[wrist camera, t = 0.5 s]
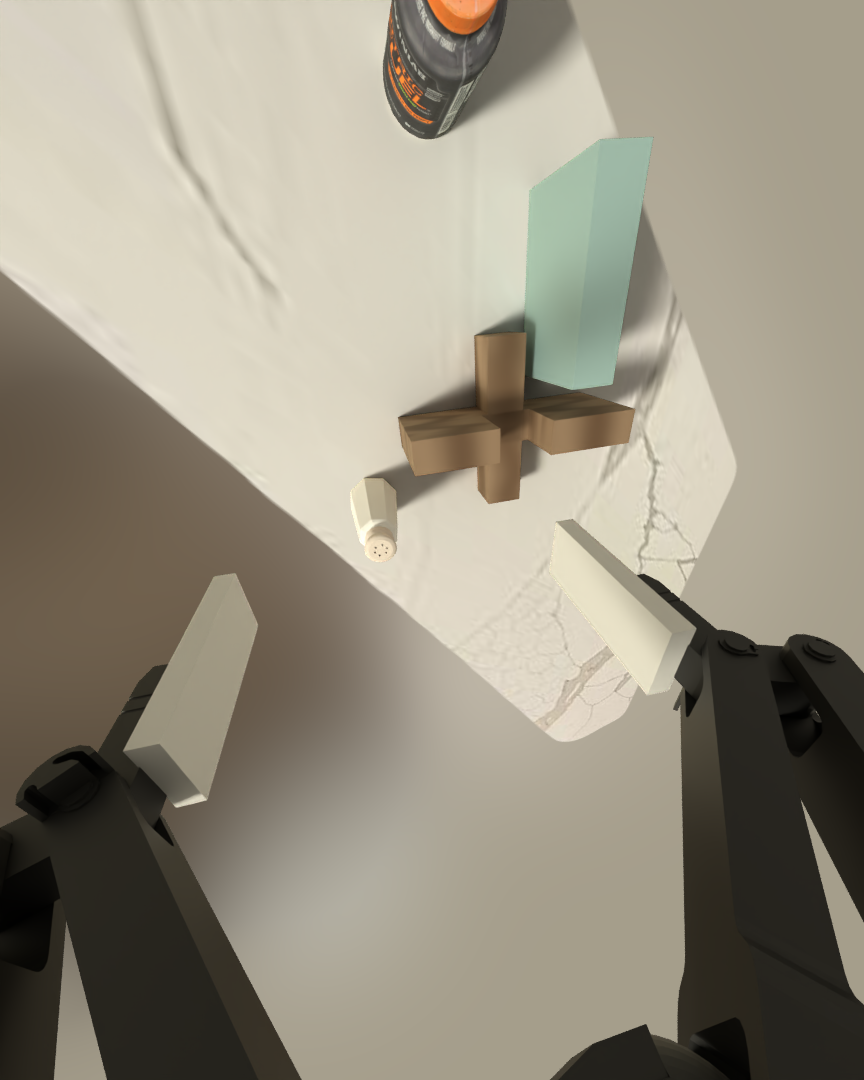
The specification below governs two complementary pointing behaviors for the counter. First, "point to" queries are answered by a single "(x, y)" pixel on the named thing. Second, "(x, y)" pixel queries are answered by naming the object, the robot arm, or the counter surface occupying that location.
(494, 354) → the walnut joint base
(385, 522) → the pepper shaker
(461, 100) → the pill bottle
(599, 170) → the teal block
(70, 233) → the counter surface
